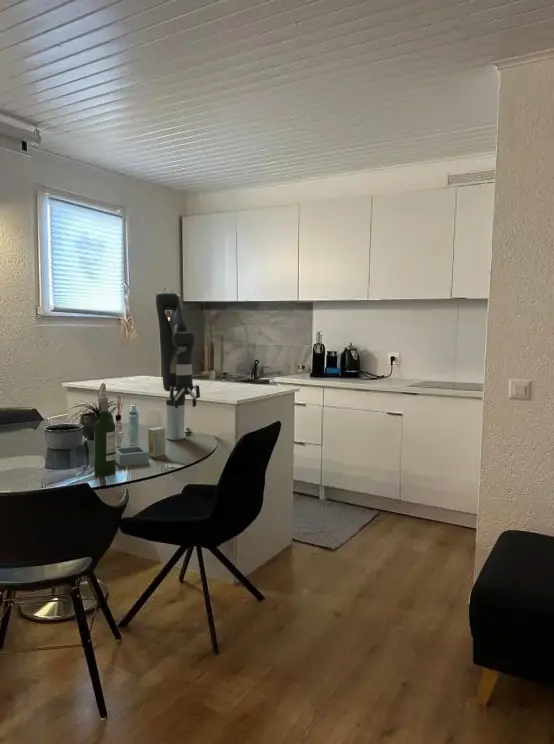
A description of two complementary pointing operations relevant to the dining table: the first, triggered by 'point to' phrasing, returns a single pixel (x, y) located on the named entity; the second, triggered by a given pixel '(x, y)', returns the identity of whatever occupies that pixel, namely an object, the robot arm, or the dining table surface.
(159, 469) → the dining table surface
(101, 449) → the wine bottle
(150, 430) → the skincare box
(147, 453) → the ceramic holder
